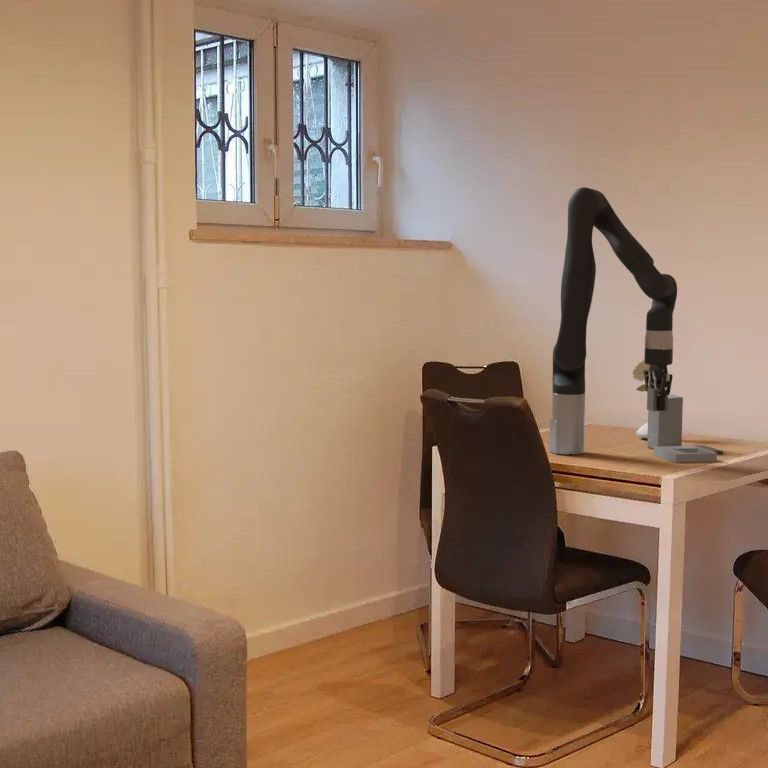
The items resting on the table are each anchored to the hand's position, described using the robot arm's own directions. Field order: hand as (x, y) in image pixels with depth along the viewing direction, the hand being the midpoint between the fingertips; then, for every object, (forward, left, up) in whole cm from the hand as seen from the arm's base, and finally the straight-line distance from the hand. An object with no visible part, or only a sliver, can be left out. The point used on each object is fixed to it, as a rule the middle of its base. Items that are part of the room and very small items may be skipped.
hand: (657, 409), depth 307 cm
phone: (+21, +13, -14) cm, 28 cm away
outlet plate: (+10, +2, -14) cm, 17 cm away
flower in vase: (+17, +40, -14) cm, 46 cm away
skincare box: (+12, +20, -14) cm, 27 cm away
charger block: (0, 0, 0) cm, 0 cm away
